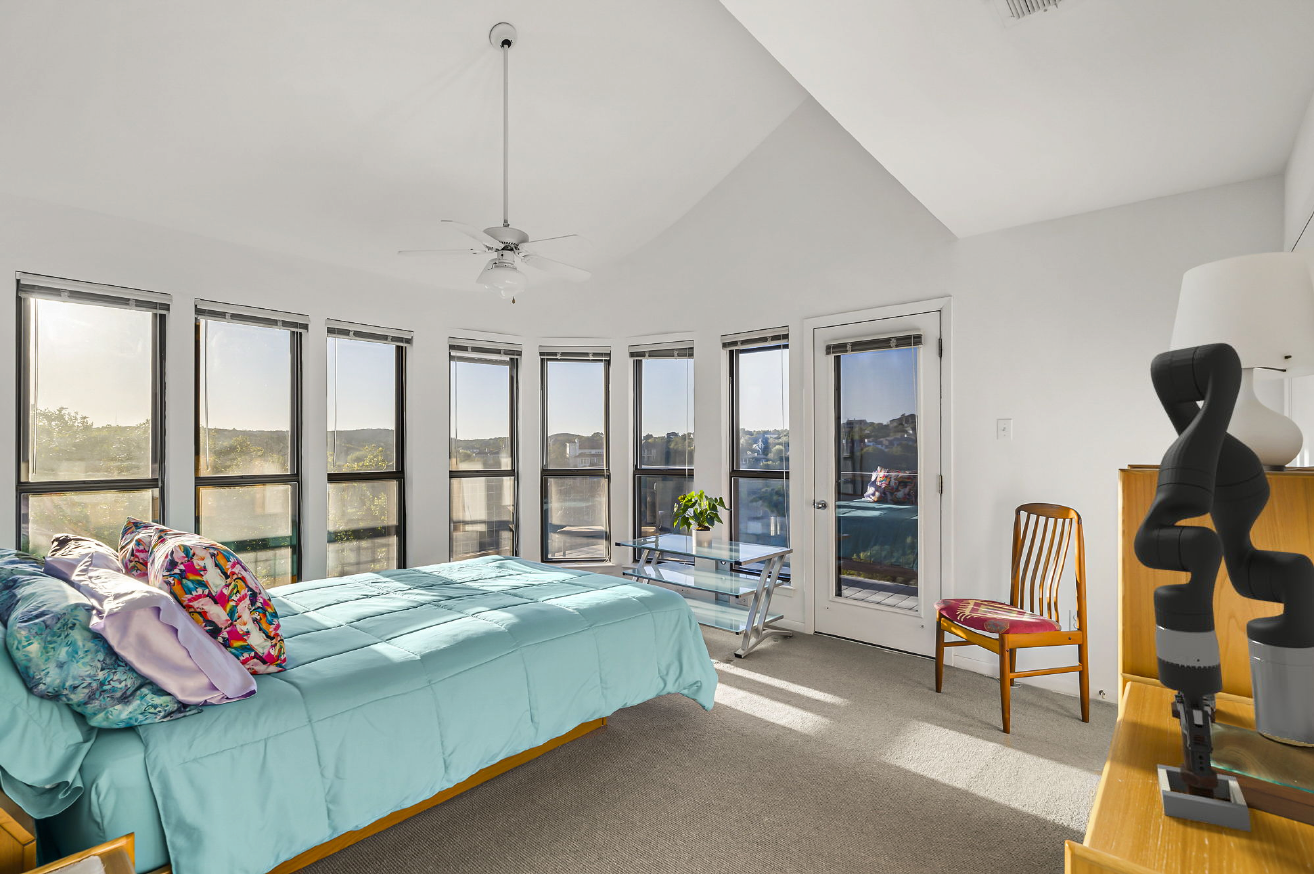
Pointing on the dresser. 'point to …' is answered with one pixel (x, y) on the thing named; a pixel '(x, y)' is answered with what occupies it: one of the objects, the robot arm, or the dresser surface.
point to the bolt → (1193, 782)
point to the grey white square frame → (1204, 801)
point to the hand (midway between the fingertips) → (1197, 761)
